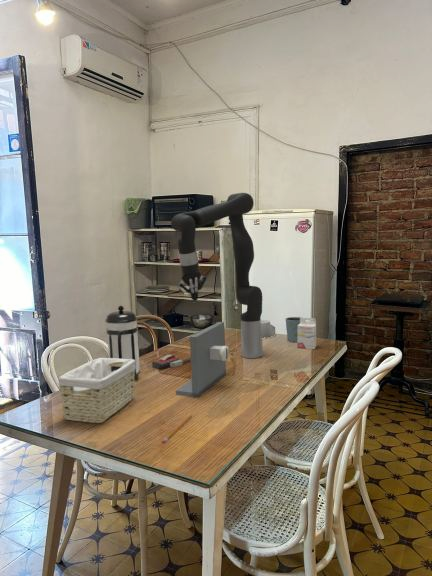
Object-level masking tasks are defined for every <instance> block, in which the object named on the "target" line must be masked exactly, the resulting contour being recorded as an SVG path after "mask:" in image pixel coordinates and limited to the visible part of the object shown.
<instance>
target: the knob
mask: <svg viewBox="0 0 432 576" xmlns="http://www.w3.org/2000/svg"><path fill="white" fill-rule="evenodd" d="M229 356H230V348H229V346H227V345H225V346H222V347H221V349H220V360H221V361H226V362H227V361H228V360H229Z"/></svg>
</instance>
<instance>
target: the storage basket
mask: <svg viewBox="0 0 432 576" xmlns="http://www.w3.org/2000/svg"><path fill="white" fill-rule="evenodd" d="M109 366H112V367H113V366H116V367H121V368H119V369H118V370H116V371H113V372H110V367H109ZM134 373H135V360H134V359H118V358H109V357H98V358H96V359H92V360H90V361H88V362H86V363H84V364H82V365H80V366H78V367H76V368H73V369H71V370H69V371H67V372H65V373H64V374H62V375H60V376H59V377H58V386H59V387H58V388H59V392H60V397H61V404H62V411H63V418H64V419H65V420H67V421H73V422H74V421H75V422H83V423H90V424H95V423H96V424H101V423H103V422H105V421H107V419H109V418H110V417H111V416H112V415H115V414H116V413H117V412H118V411H119V410H121V409H123V407H125V406H126V405H127V404H129V403H130V402H131V401H132V400H133V399H134V395H135V393H134V391H135V381H134V375H135V374H134Z"/></svg>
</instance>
